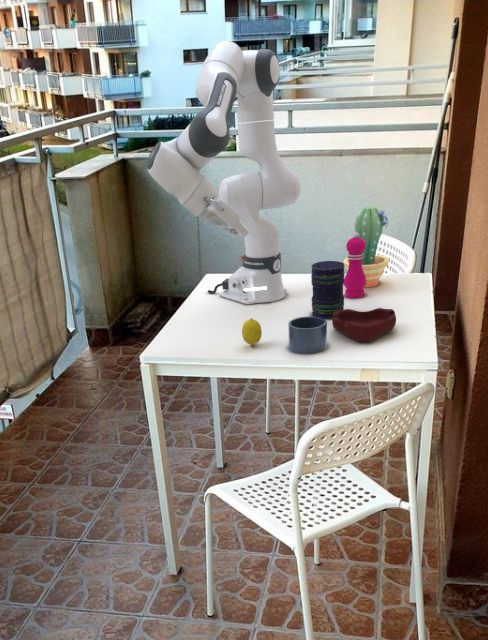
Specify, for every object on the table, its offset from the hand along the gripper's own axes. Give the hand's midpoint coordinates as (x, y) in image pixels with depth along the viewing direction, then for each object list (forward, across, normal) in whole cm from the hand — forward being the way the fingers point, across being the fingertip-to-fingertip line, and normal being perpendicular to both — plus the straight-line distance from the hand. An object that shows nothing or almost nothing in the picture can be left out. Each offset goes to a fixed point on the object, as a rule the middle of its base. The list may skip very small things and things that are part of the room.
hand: (241, 234), depth 182 cm
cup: (+32, -5, +11) cm, 35 cm away
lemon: (+22, +2, +21) cm, 30 cm away
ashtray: (+45, -3, -2) cm, 45 cm away
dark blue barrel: (+40, +18, -2) cm, 44 cm away
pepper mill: (+49, +32, -14) cm, 60 cm away
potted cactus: (+54, +42, -21) cm, 72 cm away
